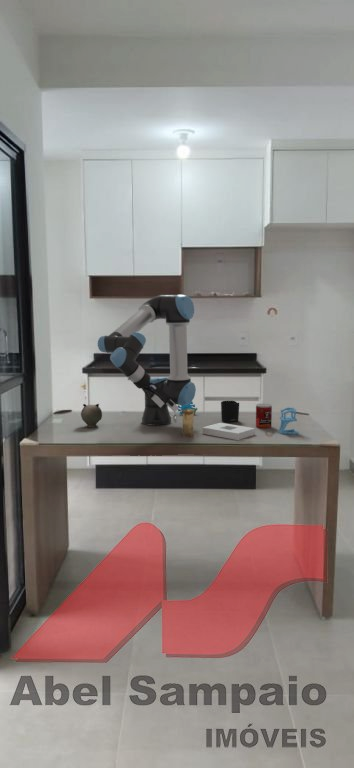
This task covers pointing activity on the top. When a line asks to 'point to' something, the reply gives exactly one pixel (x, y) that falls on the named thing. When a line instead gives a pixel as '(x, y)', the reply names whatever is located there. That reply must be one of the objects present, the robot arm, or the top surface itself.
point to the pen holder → (229, 411)
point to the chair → (287, 421)
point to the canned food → (263, 415)
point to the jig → (229, 431)
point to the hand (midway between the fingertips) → (169, 407)
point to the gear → (187, 407)
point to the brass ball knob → (188, 422)
